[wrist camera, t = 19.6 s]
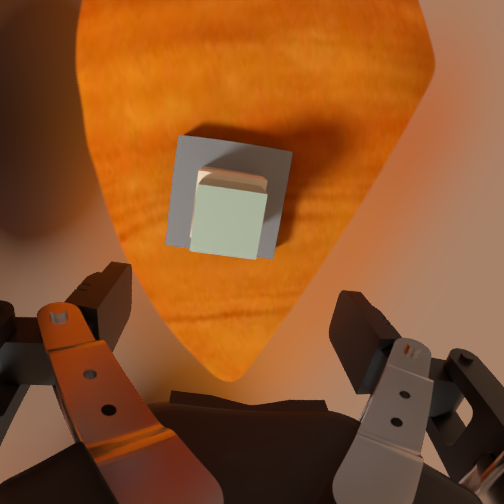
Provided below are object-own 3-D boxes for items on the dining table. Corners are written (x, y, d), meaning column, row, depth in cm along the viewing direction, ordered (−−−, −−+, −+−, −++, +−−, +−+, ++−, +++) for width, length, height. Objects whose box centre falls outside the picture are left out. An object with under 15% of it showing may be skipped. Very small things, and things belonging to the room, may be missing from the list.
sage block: (202, 177, 27) (198, 184, 22) (260, 185, 28) (267, 194, 23) (195, 233, 29) (189, 251, 24) (250, 240, 29) (255, 259, 25)
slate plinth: (182, 135, 34) (178, 134, 31) (287, 151, 36) (293, 151, 33) (169, 237, 38) (165, 245, 35) (269, 250, 39) (273, 259, 36)
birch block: (203, 166, 33) (198, 170, 27) (260, 174, 33) (267, 180, 28) (195, 221, 34) (189, 237, 29) (250, 229, 35) (255, 246, 29)
